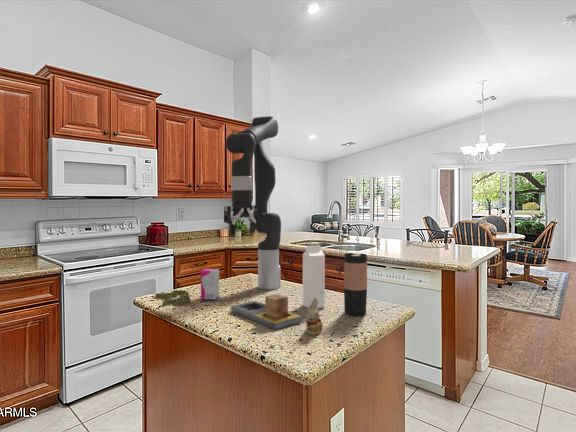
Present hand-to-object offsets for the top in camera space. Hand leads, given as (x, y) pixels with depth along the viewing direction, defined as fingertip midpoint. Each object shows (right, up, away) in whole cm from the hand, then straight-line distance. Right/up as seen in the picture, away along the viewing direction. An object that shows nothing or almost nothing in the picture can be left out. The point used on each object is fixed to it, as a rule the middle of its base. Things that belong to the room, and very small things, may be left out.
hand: (242, 234), depth 128 cm
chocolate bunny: (+24, -27, -25) cm, 44 cm away
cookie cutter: (-28, -27, +9) cm, 39 cm away
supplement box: (-14, -26, +10) cm, 31 cm away
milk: (+26, -26, 0) cm, 37 cm away
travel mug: (+39, -27, -8) cm, 48 cm away
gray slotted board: (+9, -27, -12) cm, 30 cm away
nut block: (+13, -27, -17) cm, 34 cm away
